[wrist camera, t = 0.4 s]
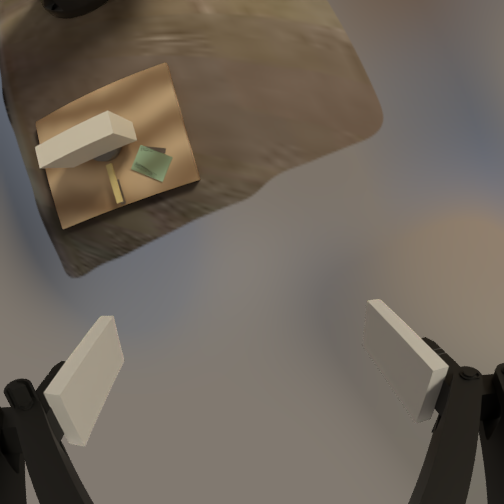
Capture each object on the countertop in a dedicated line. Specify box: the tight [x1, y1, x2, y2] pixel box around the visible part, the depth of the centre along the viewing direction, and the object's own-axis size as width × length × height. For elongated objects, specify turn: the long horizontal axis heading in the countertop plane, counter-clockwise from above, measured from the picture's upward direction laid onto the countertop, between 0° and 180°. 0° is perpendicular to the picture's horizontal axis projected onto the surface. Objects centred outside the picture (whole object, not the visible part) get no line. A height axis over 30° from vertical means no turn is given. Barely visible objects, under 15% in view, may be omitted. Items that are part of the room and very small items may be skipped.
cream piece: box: [35, 111, 137, 204], centre depth 31 cm, size 10×9×10 cm
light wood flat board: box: [36, 62, 201, 229], centre depth 36 cm, size 16×20×2 cm
